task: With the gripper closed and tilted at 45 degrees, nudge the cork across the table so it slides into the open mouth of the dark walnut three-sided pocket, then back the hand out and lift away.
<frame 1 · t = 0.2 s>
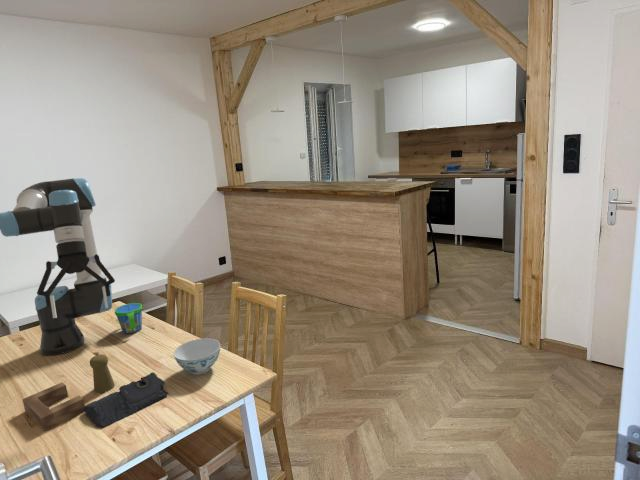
hand: (81, 313, 130), 27 cm above the table, tool tilted 15°, fingers open, 13 cm apart
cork: (104, 388, 141), on the table
dark slate chunk: (127, 404, 132), on the table
chinaware: (200, 370, 148), on the table
snack cup: (132, 330, 184), on the table
walnut pocket: (64, 406, 132), on the table
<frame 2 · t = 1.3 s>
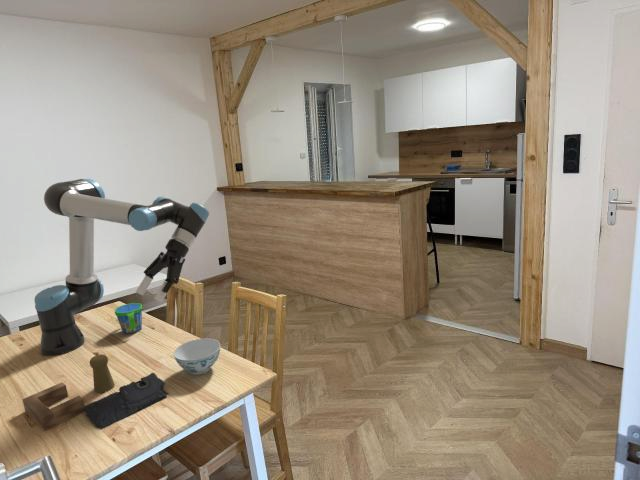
hand: (148, 297, 149), 24 cm above the table, tool tilted 45°, fingers open, 13 cm apart
nothing on the table moved.
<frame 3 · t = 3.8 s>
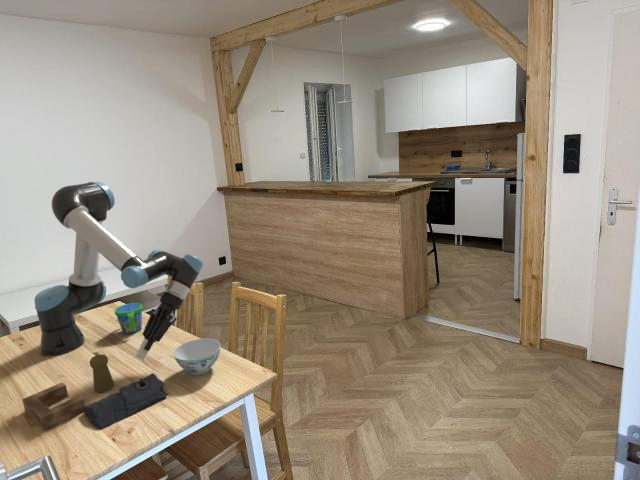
hand: (139, 358, 148), 5 cm above the table, tool tilted 45°, fingers closed
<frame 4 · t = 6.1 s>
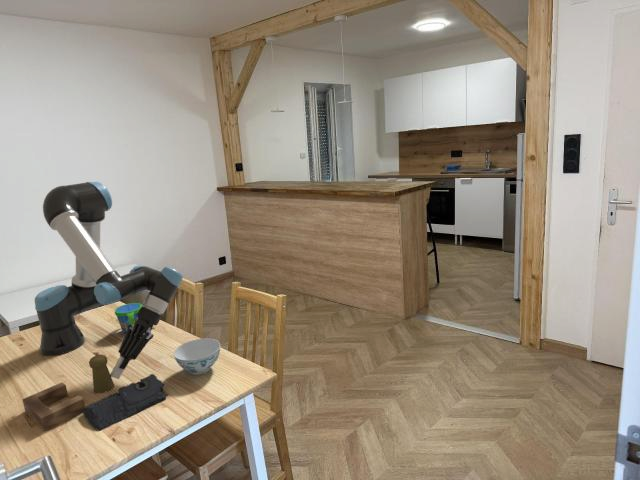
hand: (114, 377, 142), 3 cm above the table, tool tilted 45°, fingers closed
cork: (104, 388, 141), on the table, touching gripper
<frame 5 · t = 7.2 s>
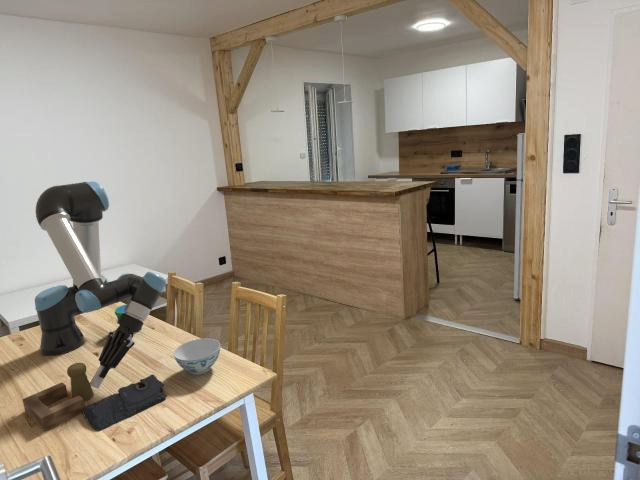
hand: (93, 386, 137), 3 cm above the table, tool tilted 45°, fingers closed
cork: (83, 397, 137), on the table, touching gripper
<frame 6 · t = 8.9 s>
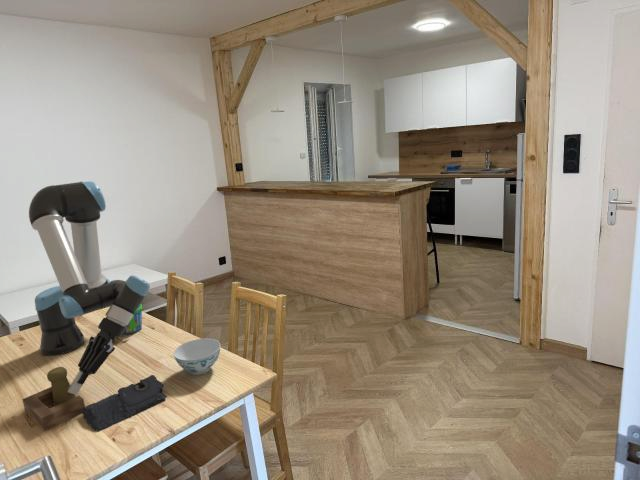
hand: (71, 393, 133), 3 cm above the table, tool tilted 45°, fingers closed
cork: (65, 402, 134), on the table, touching gripper, walnut pocket
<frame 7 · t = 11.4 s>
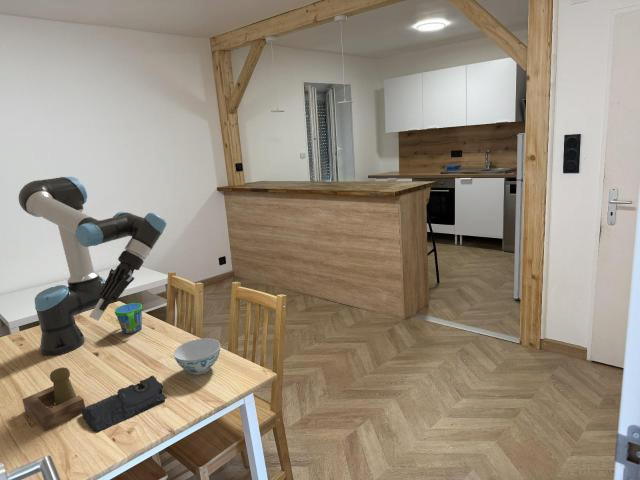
hand: (93, 318, 141), 22 cm above the table, tool tilted 45°, fingers closed
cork: (66, 403, 135), on the table
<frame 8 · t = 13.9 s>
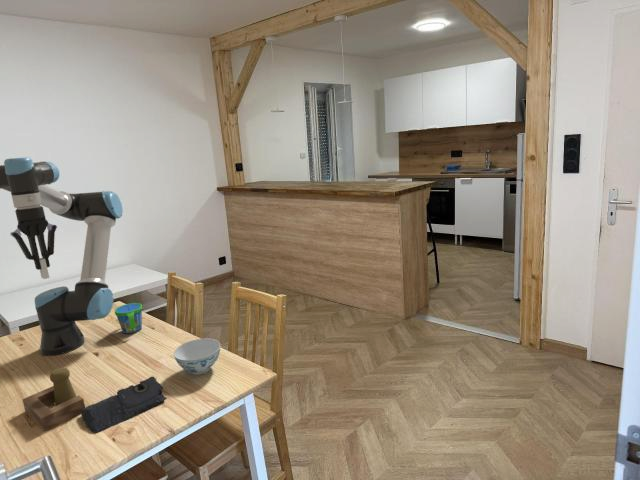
hand: (45, 277, 145), 34 cm above the table, tool pointing down, fingers closed
at the end: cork 2.4 cm off-centre on the walnut pocket, point 0.0 cm above the walnut pocket's base; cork tilted 0°; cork moved 10.9 cm from its start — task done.
